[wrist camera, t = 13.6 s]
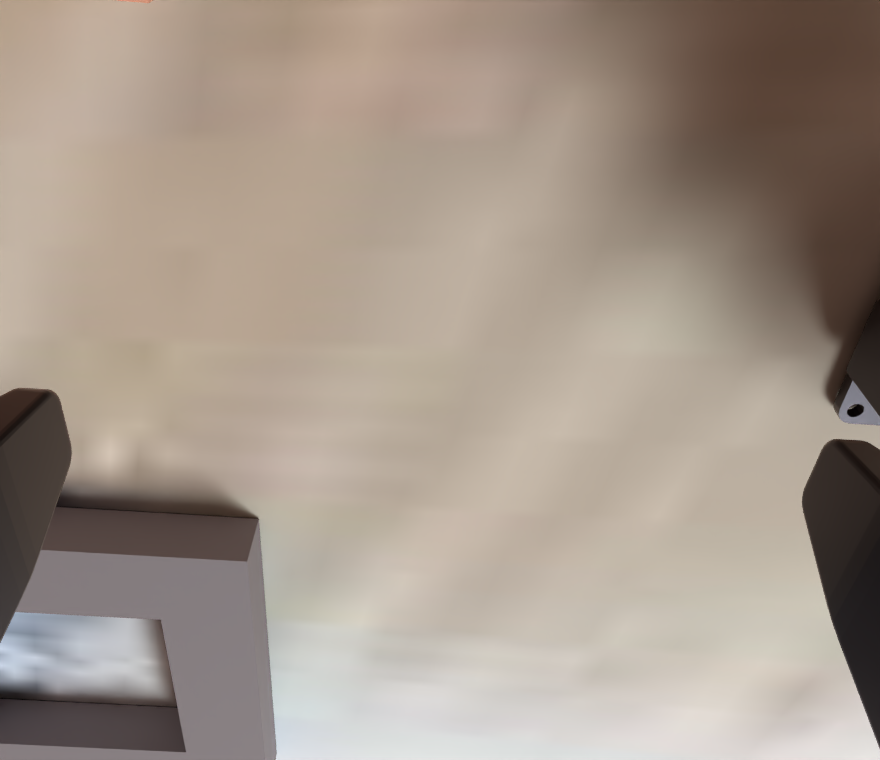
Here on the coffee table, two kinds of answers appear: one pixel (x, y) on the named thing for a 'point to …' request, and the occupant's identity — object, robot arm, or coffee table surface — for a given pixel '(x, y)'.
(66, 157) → the coffee table surface
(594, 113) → the coffee table surface
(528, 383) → the coffee table surface
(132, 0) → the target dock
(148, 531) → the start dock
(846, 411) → the robot arm
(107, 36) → the coffee table surface
